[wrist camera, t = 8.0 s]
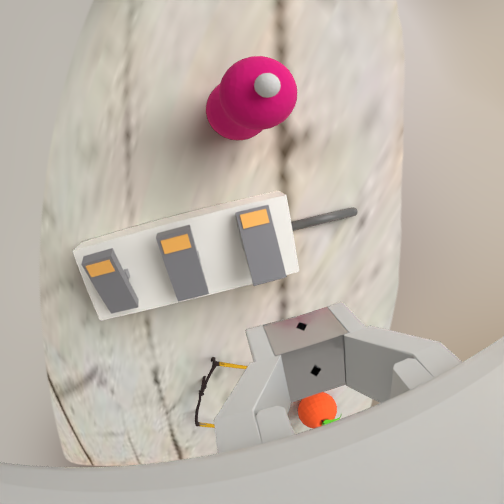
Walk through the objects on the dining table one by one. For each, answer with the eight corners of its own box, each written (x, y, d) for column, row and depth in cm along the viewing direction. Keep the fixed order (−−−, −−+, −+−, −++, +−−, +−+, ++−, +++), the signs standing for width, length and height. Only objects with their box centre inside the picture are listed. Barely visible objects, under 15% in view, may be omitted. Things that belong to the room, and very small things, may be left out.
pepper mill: (218, 149, 39) (240, 152, 20) (195, 98, 36) (197, 54, 18) (271, 128, 39) (337, 115, 20) (249, 77, 36) (297, 23, 18)
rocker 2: (156, 233, 35) (155, 238, 33) (189, 224, 35) (190, 229, 34) (178, 295, 39) (178, 302, 37) (208, 287, 39) (209, 294, 38)
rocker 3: (235, 214, 38) (235, 212, 36) (266, 206, 38) (268, 204, 36) (252, 284, 38) (254, 285, 36) (284, 276, 38) (287, 277, 36)
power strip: (82, 241, 39) (69, 254, 34) (350, 175, 43) (368, 180, 38) (106, 307, 43) (98, 326, 38) (358, 243, 46) (375, 254, 41)
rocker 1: (83, 256, 33) (81, 265, 32) (112, 247, 33) (111, 256, 32) (112, 305, 38) (111, 314, 37) (138, 299, 39) (138, 308, 38)
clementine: (339, 383, 55) (354, 408, 48) (327, 409, 57) (339, 434, 50) (299, 384, 53) (311, 411, 46) (289, 411, 55) (299, 438, 48)
